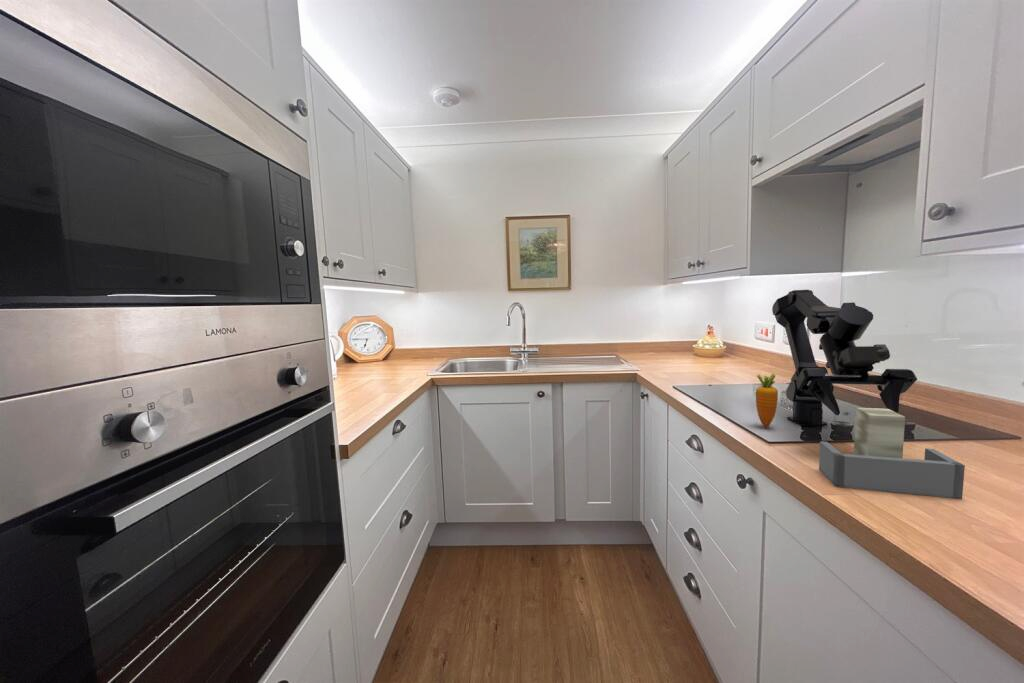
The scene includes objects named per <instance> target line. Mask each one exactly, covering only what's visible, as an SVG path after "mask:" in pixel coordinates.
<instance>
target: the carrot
mask: <svg viewBox="0 0 1024 683" xmlns="http://www.w3.org/2000/svg"><path fill="white" fill-rule="evenodd" d="M756 377H757V379H758V380H759V382H760V384H761V386H758V387H757V388H756V390H755V404H756V405H755V406H756V410H757V415H758V417H759V420H760V423H761V425H762V426H763V427H764V428H765V429H767V428H769V427H770V426H771V423H773V421H774V418H775V414H776V411H777V408H778V397H779V396H778V395H779V393H778V389H777V388H776V387H774V386H772V385H774V384H775V383H776V381H775V378H776V374H775V373H772V374H771V375H770V376H767V375H764V376H763V377H762V376H761V375H760V374H757V375H756Z"/></svg>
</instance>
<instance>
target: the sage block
mask: <svg viewBox="0 0 1024 683" xmlns="http://www.w3.org/2000/svg"><path fill="white" fill-rule="evenodd" d="M854 419H855V423H854V441H853V455H864V456H878V457H891V458H904V442H905V441H904V440H905V426H906V424H905V423H906V416H904V415H902V414H901V413H899V412H898V413H896V412H894V411H892V410H890V409H887V408H880V407H879V408H876V407H875V408H874V407H855V418H854Z"/></svg>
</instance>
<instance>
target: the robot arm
mask: <svg viewBox="0 0 1024 683" xmlns="http://www.w3.org/2000/svg"><path fill="white" fill-rule="evenodd" d="M771 309H772V310H771V311H772V315H773V316H774V317H775V319H776V320H775V321H776V323H778V324H779V325H780V326H782V327H783V328H784V330H785V333H786V334H785V335H786V337H787V340H788V345H789V348H790V351H791V356H792V361H793V365H794V368H795V371H794V373H793V374H792V376H791V379H790V382H789V384H788V386H787V388H786V389H785V393H786V395H785V396H786V398H787V399H788V400H789V401H791V402H792V403H793V404H792V408H793V410H792V416H787V417H786V418H787V420H790V421H792V422H794V423H796V424H798V425H800V426H802V427H808V426H828V423H827V422H825V421H824V420H823V416H824V415H823V413H824V410H823V405H824V406H825V407H827V408H828V409H829V410H830V411H831V412H832V413H833V414H834V415H836V416H840V414H841V411H840V407H839V404H838V402H837V399H836V397H835V394H834V388H835V387H834V385H839V384H840V385H846V386H847V385H849V386H852V385H854V386H855V385H856V386H876V387H877V389H878V390H877V391H880V393H878V394H879V395H878V396H880V399H881V401H882V402H883V404H884V407H885V409H890V410H892V411H894V412H896V413H898V414H899V410H900V396H901V394H903V393H904V394H905V392H907V391H908V390H909V389H910V388H911V387H912V386H913V384H915V383H916V382H917V380H918V378H917V375H916V373H915V372H914V371H913V370H911V369H908V368H885V370H884V371H883V372H882V373H881V375H872V374H871V375H869V372H873V370H874V369H875V367H874V366H873V365H875V364H879V363H881V362H885V361H887V360H889V359H890V358H891V353H890V349H889V347H887V345H886V344H883V343H882V344H880V343H877V344H873V345H871V346H868V345H867V346H866V345H865V346H862V345H861V346H857V345H856V343H855V341H857V340H859V339H861V338H862V336H863V335H864V333H865V332H866V329H867V328H868V327H869V326H870V324H871V322H872V321H873V320H874V314H873V312H872V311H870V310H869V309H867V308H865V307H862V306H860V305H856V303H855V302H853V301H852V302H842V305H841V307H834V306H829V305H827V304H825V303H824V302H823V301H822V300H821V299H819V297H817V296H816V295H815V294H814V291H813V290H811V289H794V290H790V291H789V292H788V293H787V294H786V295H783V296H781V297H779V298H777V299H776V301H775V302H774V303H773V304H772V308H771ZM805 320H806V324H805ZM806 327H807V328H806ZM807 329H808V330H809V332H810V333H812V334H813V335H821V337H820V339H819V346H818V349H819V350H822V351H823V354H824V356H825V358H826V359H825V360H826V363H825V366H819V365H818V364H817V362H816V359H815V355H814V352H813V348H812V344H811V342H810V337H809V334H808V332H807ZM828 369H829V370H830V372H831V373H829V372H828Z"/></svg>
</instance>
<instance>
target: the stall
mask: <svg viewBox="0 0 1024 683" xmlns="http://www.w3.org/2000/svg"><path fill="white" fill-rule="evenodd" d="M818 458H819V459H818V460H819V462H818V470H819V472H821V473H822V474H823V475H824V476H825V477H826V479H827V480H829V481H830V483H832V484H833V485H834V487H837V488H838V487H839V488H848V489H858V490H859V489H860V490H867V491H880V492H888V493H898V494H908V495H916V496H917V495H918V496H928V497H939V498H948V499H960V500H962V499H963V492H964V480H965V469H966V465H965V464H963V463H961V462H959V461H958V460H955V459H954V458H951V457H950V456H948V455H946V454H945V453H942V452H940V451H939V450H937V449H935V448H925V449H924V459H916V458H904V457H903V458H891V457H878V456H864V455H854V454H848V453H842V452H840V451H839V449H837V448H836V447H835V446H833V445H832V444H831V443H829V442H828V441H819V456H818Z"/></svg>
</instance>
